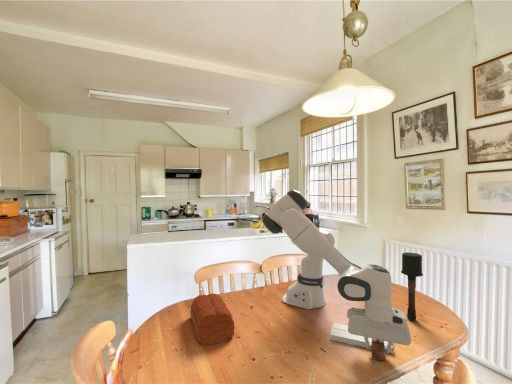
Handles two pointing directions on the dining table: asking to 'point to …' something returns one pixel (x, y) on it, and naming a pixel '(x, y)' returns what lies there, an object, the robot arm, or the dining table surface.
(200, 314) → the bread
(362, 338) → the board
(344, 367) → the dining table surface
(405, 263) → the potato masher grenade
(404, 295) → the dining table surface
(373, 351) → the block
